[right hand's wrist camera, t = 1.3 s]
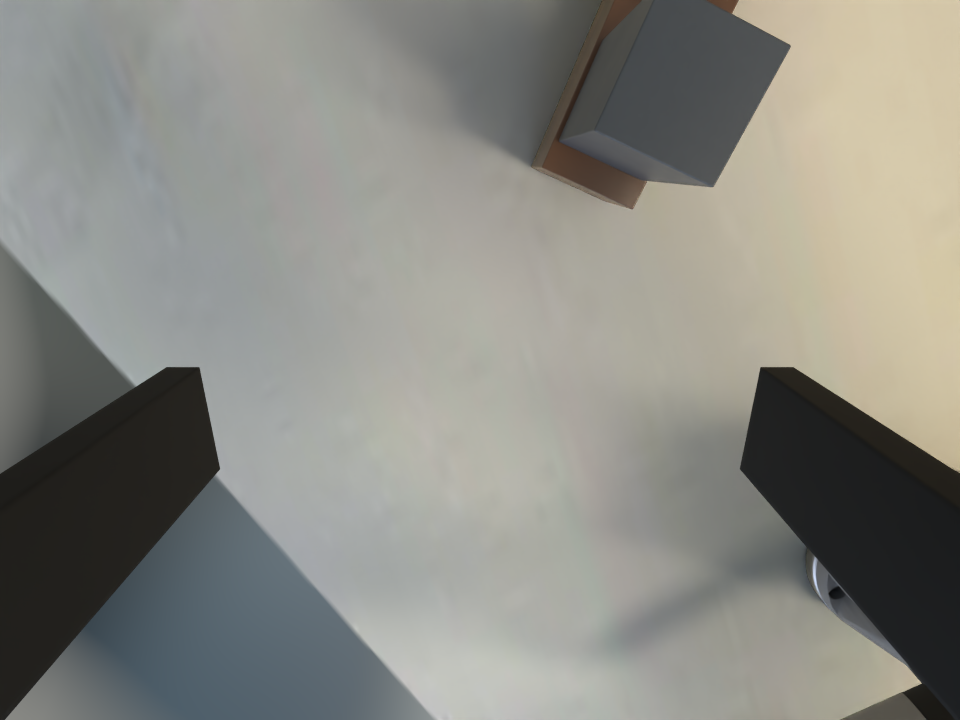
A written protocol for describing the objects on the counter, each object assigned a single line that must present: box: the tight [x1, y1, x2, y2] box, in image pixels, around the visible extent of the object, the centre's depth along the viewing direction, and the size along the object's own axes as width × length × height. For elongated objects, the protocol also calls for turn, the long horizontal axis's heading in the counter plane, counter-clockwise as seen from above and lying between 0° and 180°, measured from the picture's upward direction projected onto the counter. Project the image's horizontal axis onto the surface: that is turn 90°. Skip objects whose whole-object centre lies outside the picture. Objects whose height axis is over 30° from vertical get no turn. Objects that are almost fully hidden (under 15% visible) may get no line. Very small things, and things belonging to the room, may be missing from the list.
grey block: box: [559, 0, 791, 187], centre depth 22 cm, size 5×5×9 cm
